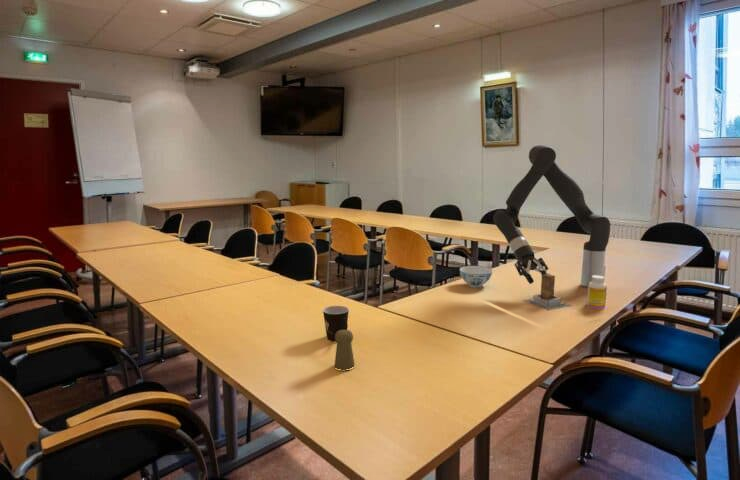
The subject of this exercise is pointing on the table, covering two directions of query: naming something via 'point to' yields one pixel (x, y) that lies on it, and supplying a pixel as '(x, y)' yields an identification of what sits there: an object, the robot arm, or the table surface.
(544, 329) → the table surface
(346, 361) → the cork
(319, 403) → the table surface
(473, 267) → the chinaware
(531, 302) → the coaster
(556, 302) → the open square frame
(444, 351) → the table surface
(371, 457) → the table surface
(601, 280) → the supplement bottle
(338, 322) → the coffee mug
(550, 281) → the brown wooden block
